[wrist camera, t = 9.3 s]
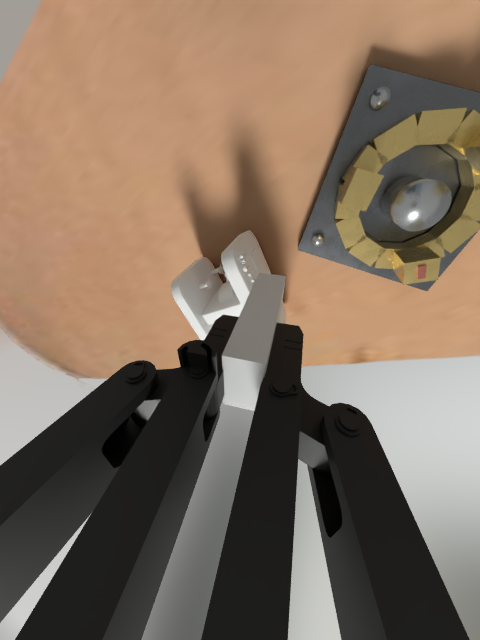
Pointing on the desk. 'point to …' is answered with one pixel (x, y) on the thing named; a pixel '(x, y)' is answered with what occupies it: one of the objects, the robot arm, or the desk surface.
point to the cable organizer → (220, 284)
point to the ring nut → (363, 181)
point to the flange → (391, 171)
